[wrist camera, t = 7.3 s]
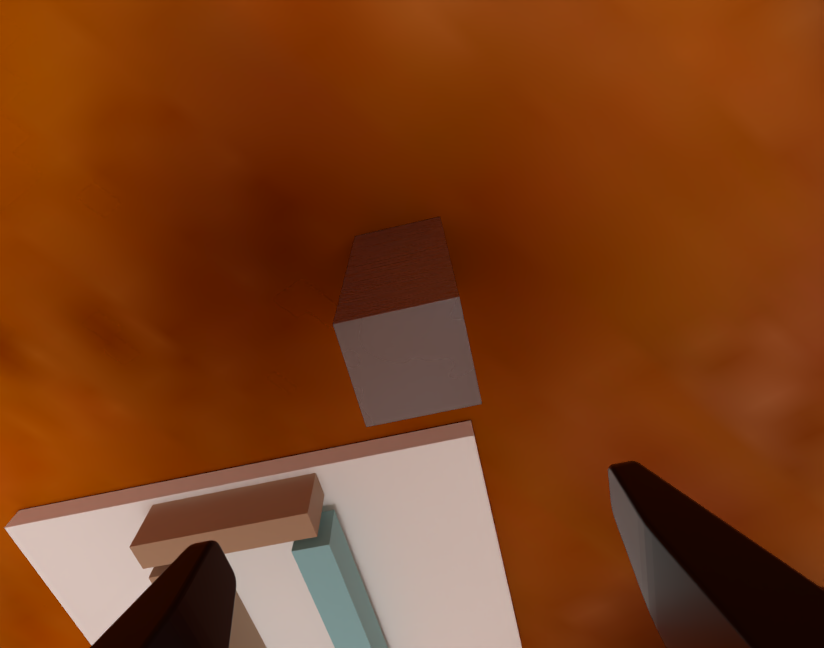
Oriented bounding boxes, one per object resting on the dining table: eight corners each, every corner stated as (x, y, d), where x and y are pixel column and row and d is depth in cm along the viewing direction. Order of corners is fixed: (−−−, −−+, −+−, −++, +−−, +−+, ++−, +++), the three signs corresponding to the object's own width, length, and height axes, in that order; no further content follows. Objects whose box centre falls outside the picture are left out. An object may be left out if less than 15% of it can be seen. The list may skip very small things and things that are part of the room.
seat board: (470, 420, 23) (480, 473, 20) (520, 639, 29) (533, 705, 26) (19, 510, 24) (-33, 571, 22) (154, 700, 30) (128, 768, 28)
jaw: (334, 509, 23) (329, 544, 21) (393, 661, 27) (392, 700, 26) (299, 516, 23) (291, 551, 21) (363, 666, 27) (360, 705, 26)
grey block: (439, 216, 19) (459, 296, 13) (456, 295, 20) (481, 403, 14) (355, 236, 19) (332, 324, 13) (376, 313, 21) (366, 427, 14)
